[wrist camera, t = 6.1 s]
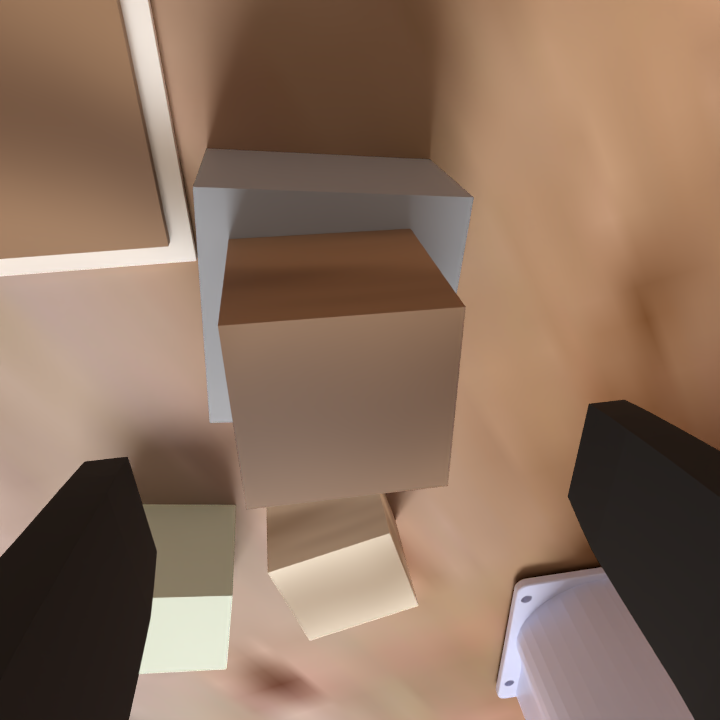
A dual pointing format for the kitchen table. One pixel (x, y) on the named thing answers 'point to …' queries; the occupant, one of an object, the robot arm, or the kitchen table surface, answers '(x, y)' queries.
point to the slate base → (314, 217)
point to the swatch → (86, 140)
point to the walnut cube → (339, 365)
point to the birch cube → (338, 562)
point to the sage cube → (190, 587)
